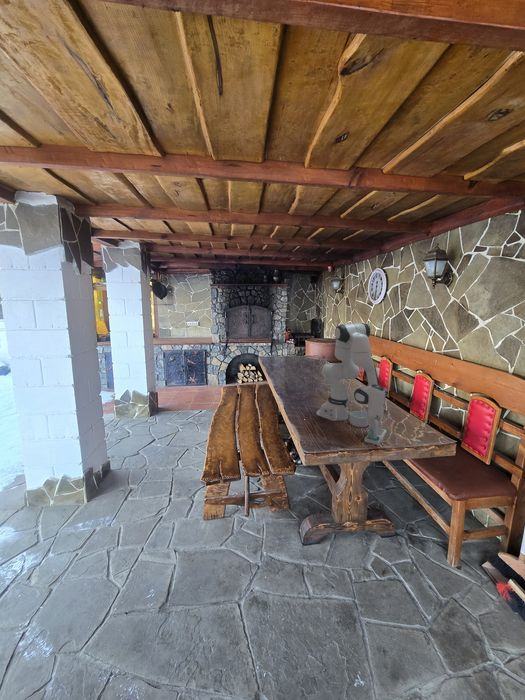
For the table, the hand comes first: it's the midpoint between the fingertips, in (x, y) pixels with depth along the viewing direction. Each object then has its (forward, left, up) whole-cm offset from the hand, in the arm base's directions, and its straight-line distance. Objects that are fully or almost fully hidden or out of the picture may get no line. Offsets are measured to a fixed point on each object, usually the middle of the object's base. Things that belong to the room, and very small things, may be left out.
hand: (373, 435), depth 164 cm
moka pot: (-10, +53, -4) cm, 54 cm away
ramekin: (-14, +19, -4) cm, 24 cm away
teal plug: (0, 0, -3) cm, 3 cm away
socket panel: (0, +6, -4) cm, 7 cm away
